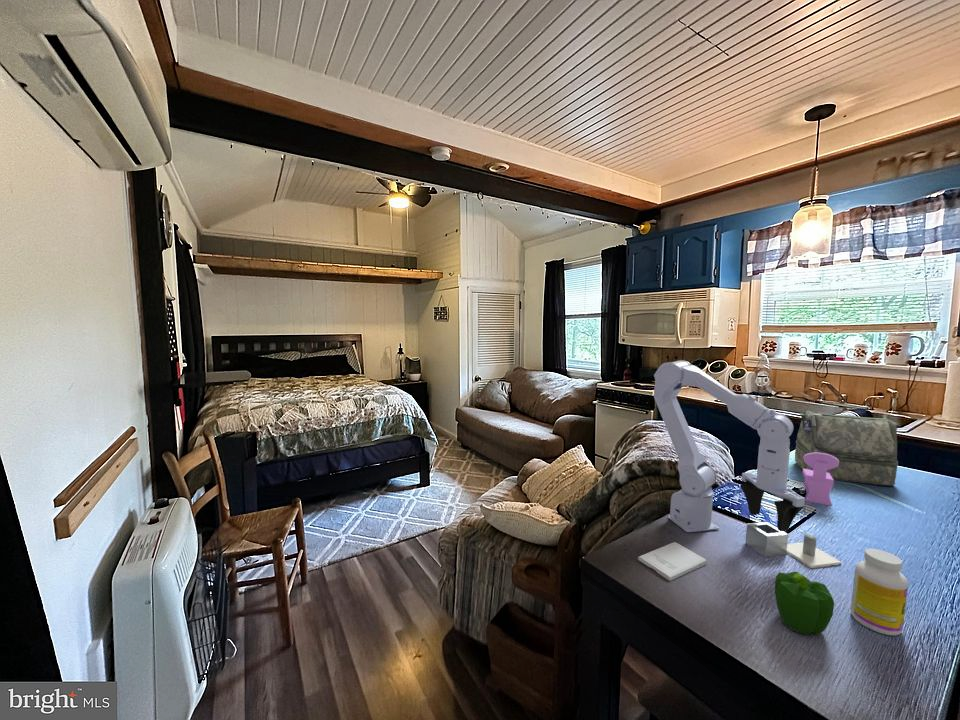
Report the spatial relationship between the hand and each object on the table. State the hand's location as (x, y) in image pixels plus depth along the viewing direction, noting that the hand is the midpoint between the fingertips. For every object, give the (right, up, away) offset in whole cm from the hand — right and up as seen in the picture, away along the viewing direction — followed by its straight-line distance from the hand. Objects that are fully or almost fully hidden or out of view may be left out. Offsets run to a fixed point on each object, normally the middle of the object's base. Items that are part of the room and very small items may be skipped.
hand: (768, 521), depth 92 cm
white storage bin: (0, -7, +1) cm, 7 cm away
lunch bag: (+60, -3, +46) cm, 75 cm away
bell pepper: (-11, -9, -22) cm, 26 cm away
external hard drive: (-25, -8, -4) cm, 27 cm away
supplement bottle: (+3, -9, -22) cm, 24 cm away
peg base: (+8, -7, -2) cm, 11 cm away
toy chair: (+35, -4, +28) cm, 45 cm away
